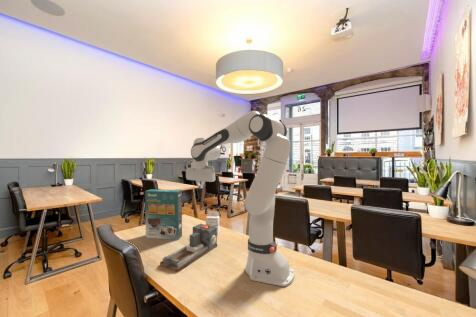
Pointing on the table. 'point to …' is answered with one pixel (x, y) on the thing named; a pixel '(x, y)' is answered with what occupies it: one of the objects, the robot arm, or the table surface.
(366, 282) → the table surface
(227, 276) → the table surface
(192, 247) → the carriage
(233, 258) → the table surface
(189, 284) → the table surface
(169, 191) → the cake mix box
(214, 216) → the ink cartridge box
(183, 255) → the track
